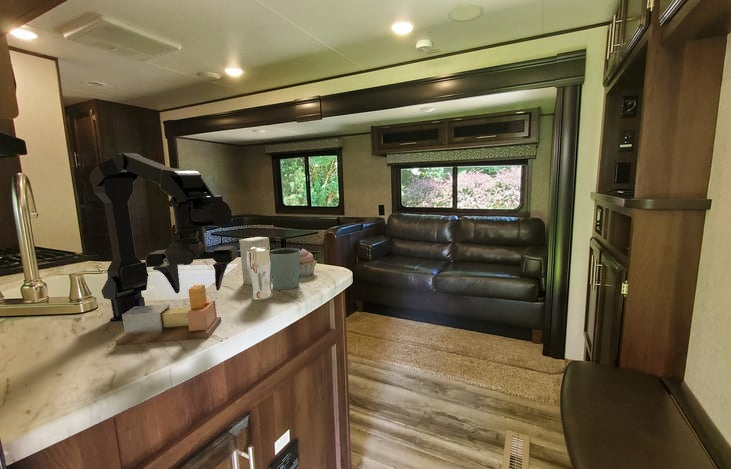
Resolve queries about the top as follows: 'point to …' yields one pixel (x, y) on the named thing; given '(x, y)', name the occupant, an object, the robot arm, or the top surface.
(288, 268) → the teal mug
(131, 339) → the walnut board
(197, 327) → the terracotta socket
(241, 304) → the top surface
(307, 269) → the cupcake
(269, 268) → the beer glass
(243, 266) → the skincare box
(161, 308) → the steel sleeve
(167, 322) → the wooden blocks
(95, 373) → the top surface
